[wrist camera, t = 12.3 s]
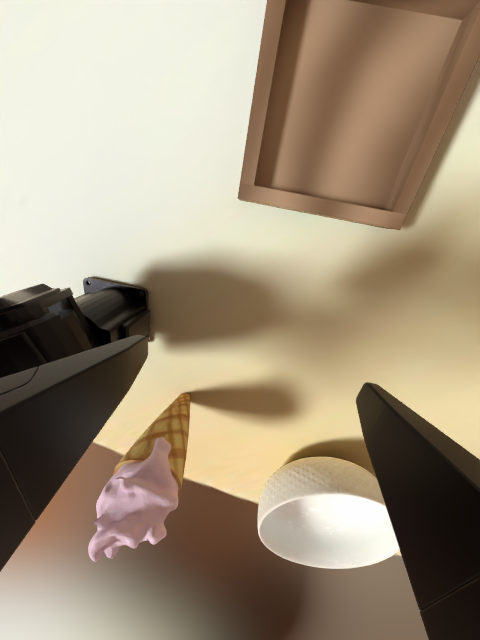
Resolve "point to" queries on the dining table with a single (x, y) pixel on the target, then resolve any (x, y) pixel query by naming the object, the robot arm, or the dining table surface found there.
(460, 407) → the dining table surface
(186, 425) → the ice cream cone
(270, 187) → the walnut holder
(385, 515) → the cereal bowl
